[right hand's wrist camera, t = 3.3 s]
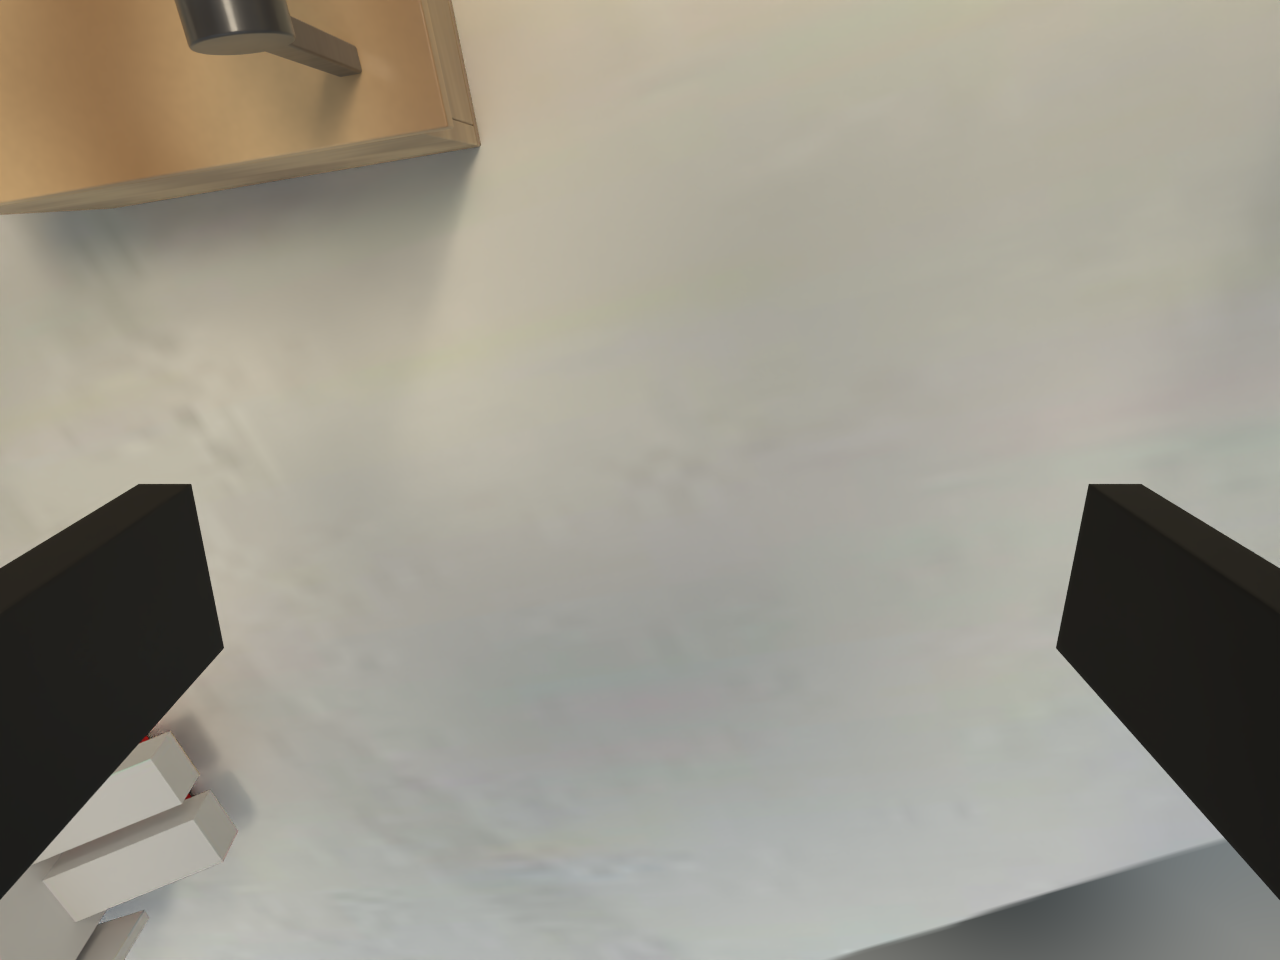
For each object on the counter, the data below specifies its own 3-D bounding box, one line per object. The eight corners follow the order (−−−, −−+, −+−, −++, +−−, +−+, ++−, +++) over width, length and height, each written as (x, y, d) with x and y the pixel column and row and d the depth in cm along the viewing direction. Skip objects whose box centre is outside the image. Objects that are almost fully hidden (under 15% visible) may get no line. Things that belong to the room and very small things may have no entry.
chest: (424, -134, 30) (331, -267, 21) (481, 146, 33) (422, 134, 24) (18, -57, 30) (-238, -154, 22) (112, 208, 34) (-76, 219, 25)
